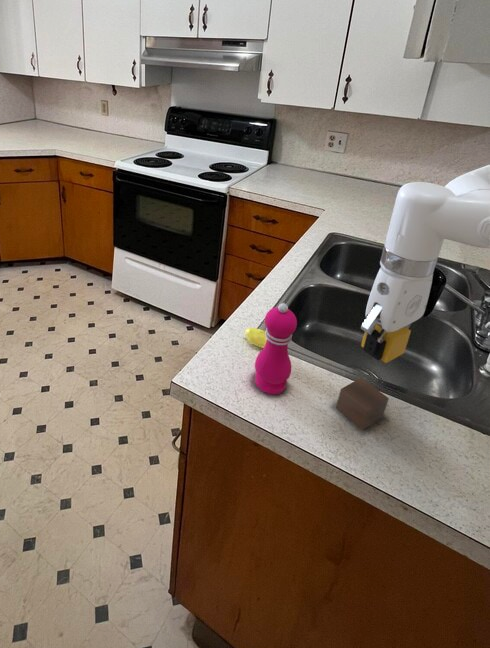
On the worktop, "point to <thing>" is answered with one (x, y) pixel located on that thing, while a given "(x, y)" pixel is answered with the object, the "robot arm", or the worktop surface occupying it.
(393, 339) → the mustard block
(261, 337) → the lemon
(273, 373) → the pepper mill
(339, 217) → the worktop surface
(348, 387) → the walnut block
